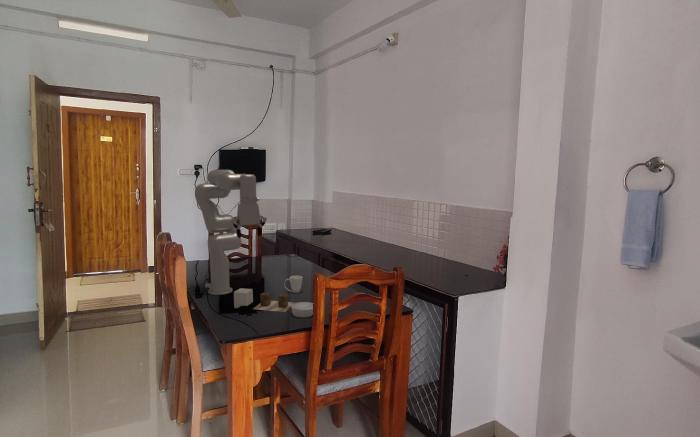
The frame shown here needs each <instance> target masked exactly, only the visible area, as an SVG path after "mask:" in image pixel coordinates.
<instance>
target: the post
mask: <svg viewBox="0 0 700 437" xmlns="http://www.w3.org/2000/svg"><path fill="white" fill-rule="evenodd" d="M277 301H278V307H280V308H286V307H287V306H288V302H289V294H286V293H280V294H279V295H278V296H277Z"/></svg>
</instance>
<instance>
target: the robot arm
mask: <svg viewBox="0 0 700 437" xmlns="http://www.w3.org/2000/svg"><path fill="white" fill-rule="evenodd" d="M256 177H257V176H255V174H249V173H248V174H247V173H235V172H234V171H233V170H232V169H213V170H211V171H209V172H208V173H207V175H206V180H207V182H205V183H199V184H198V185H196V186H195V189H194V198H195V200H196V201H195V202H196V203H197V205H198V207H199V208H200V210H201V214H202V217H203V221H204V225H205V228H206V230H207V232H209V233H210V234H212V235H210V236H209V237H208V239H207V248H208V252H209V264H210V266H209V268H210V282H209V283H208V282H206V283H205V285H204V287H205V288H208V290H207V293H208V294H209V295H213V296H221V295H222V296H223V295H227V294H230V293H232V292H233V288H232V287H230V262H229V257H228V256H227V254H226V253H225V252H227V251H234V250H237V249H238V250H239V249H240V248H241V246H242V230H241V228H242V226H251V225H253V226H254V225H256V226H257V229H256V230H257V236H258V237H262V235H263V234H262V233H263V231H262V228H263V227H264V226H265V225H266V222H267V220H268V219H267V218H266V217H265V216H263V215H261V214H260V207H259V204H258V202H259V201H260V198H259V197H257V178H256ZM234 190H236V191H237V190H239V203H238V204H237V213H236V216H235V217H234V216H233V215H232V214H220V212H219V208H218V206H217V204H216V203H215V202H214V201H212V199H224V198H227V197H228V196H229V195H230V193H231V191H234ZM261 220H262V221H261Z"/></svg>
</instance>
